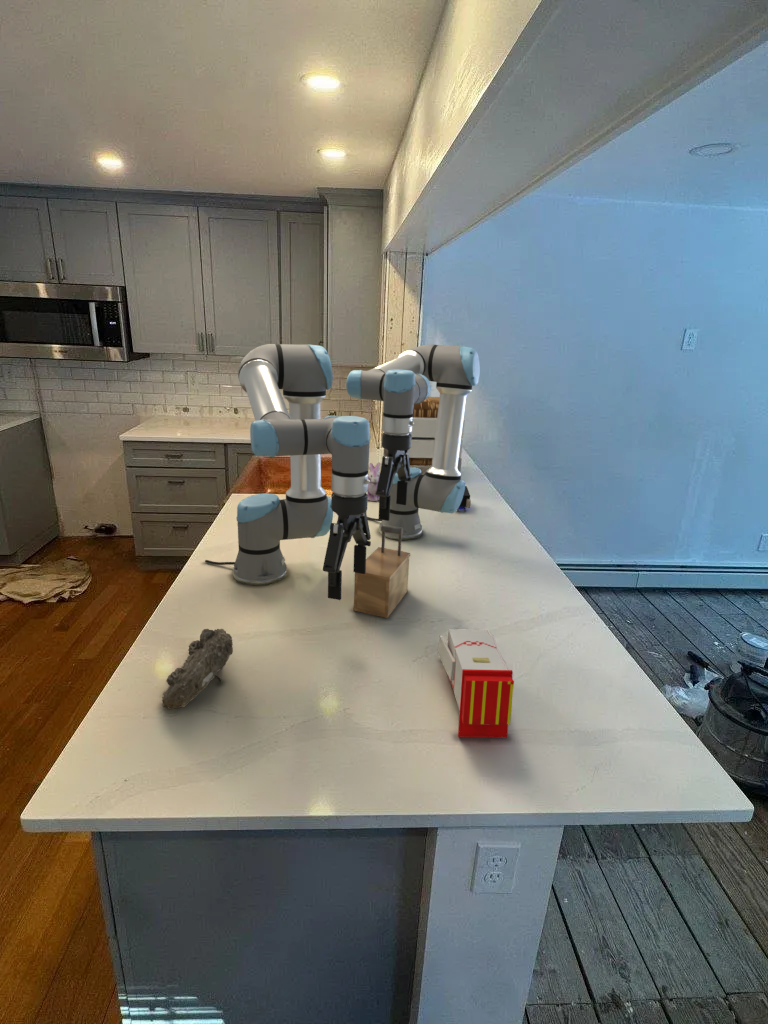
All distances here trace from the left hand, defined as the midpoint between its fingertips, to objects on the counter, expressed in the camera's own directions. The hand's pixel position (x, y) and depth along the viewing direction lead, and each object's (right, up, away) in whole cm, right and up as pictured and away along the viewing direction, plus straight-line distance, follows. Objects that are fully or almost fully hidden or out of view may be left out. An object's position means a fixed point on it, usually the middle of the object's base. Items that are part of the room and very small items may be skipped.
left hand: (347, 584), depth 124 cm
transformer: (+25, +35, +151) cm, 157 cm away
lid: (+8, +2, +26) cm, 27 cm away
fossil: (-30, -19, -6) cm, 36 cm away
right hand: (+10, +16, +27) cm, 33 cm away
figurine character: (+39, +18, +105) cm, 113 cm away
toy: (+26, -22, -6) cm, 34 cm away
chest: (+7, -8, +29) cm, 31 cm away
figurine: (+5, +22, +112) cm, 114 cm away
